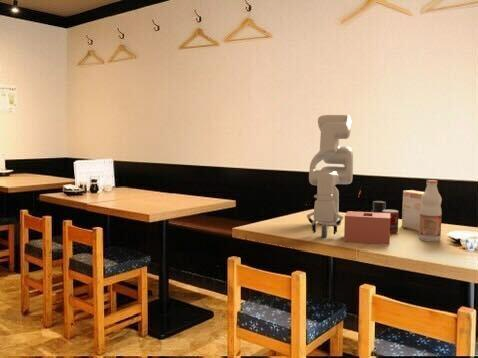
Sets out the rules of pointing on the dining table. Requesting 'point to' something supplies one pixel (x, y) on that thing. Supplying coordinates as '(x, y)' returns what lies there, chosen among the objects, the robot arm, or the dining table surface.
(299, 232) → the dining table surface
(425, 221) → the fruit juice
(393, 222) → the canned food
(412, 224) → the coffeecake box
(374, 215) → the box
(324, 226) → the block
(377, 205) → the ink bottle
